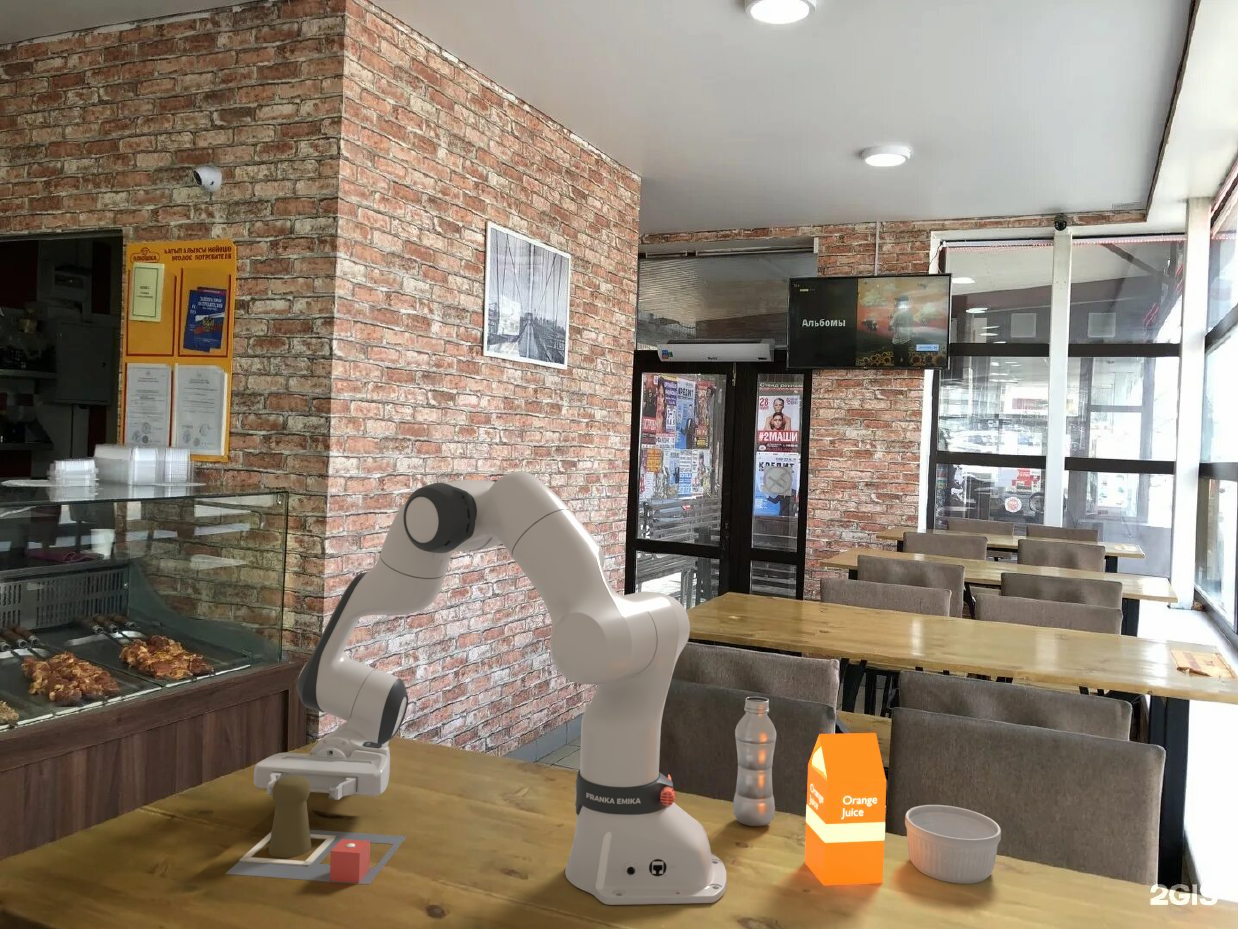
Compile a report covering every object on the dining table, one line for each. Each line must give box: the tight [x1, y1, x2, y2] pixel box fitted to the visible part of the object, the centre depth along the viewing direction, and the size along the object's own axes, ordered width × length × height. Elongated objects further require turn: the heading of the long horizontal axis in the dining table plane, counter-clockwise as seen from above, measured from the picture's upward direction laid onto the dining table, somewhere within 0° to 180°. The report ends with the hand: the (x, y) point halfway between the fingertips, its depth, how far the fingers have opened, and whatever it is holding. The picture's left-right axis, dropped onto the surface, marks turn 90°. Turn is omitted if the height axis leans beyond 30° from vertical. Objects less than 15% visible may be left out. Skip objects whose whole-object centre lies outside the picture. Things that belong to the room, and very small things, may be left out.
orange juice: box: [804, 732, 887, 886], centre depth 140 cm, size 8×9×20 cm
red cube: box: [329, 839, 371, 883], centre depth 132 cm, size 4×4×4 cm
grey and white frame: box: [224, 829, 407, 886], centre depth 139 cm, size 20×16×1 cm
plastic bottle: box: [732, 696, 777, 827], centre depth 157 cm, size 6×7×20 cm
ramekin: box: [904, 804, 1002, 885], centre depth 142 cm, size 13×13×7 cm
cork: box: [268, 776, 312, 859], centre depth 140 cm, size 6×6×11 cm
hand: (302, 792), depth 144 cm, fingers open, 8 cm apart
